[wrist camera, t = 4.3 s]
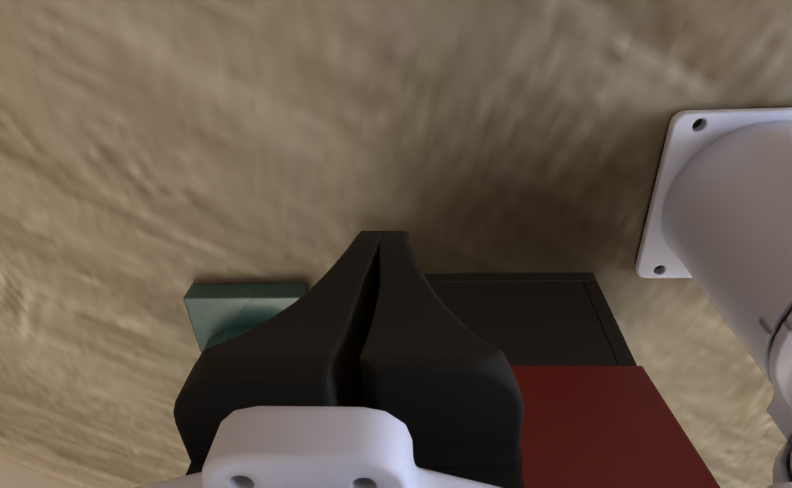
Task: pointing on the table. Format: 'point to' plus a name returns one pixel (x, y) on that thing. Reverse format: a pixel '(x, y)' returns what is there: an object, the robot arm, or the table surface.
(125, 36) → the table surface
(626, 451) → the lid
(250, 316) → the control block
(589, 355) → the dark open storage box
